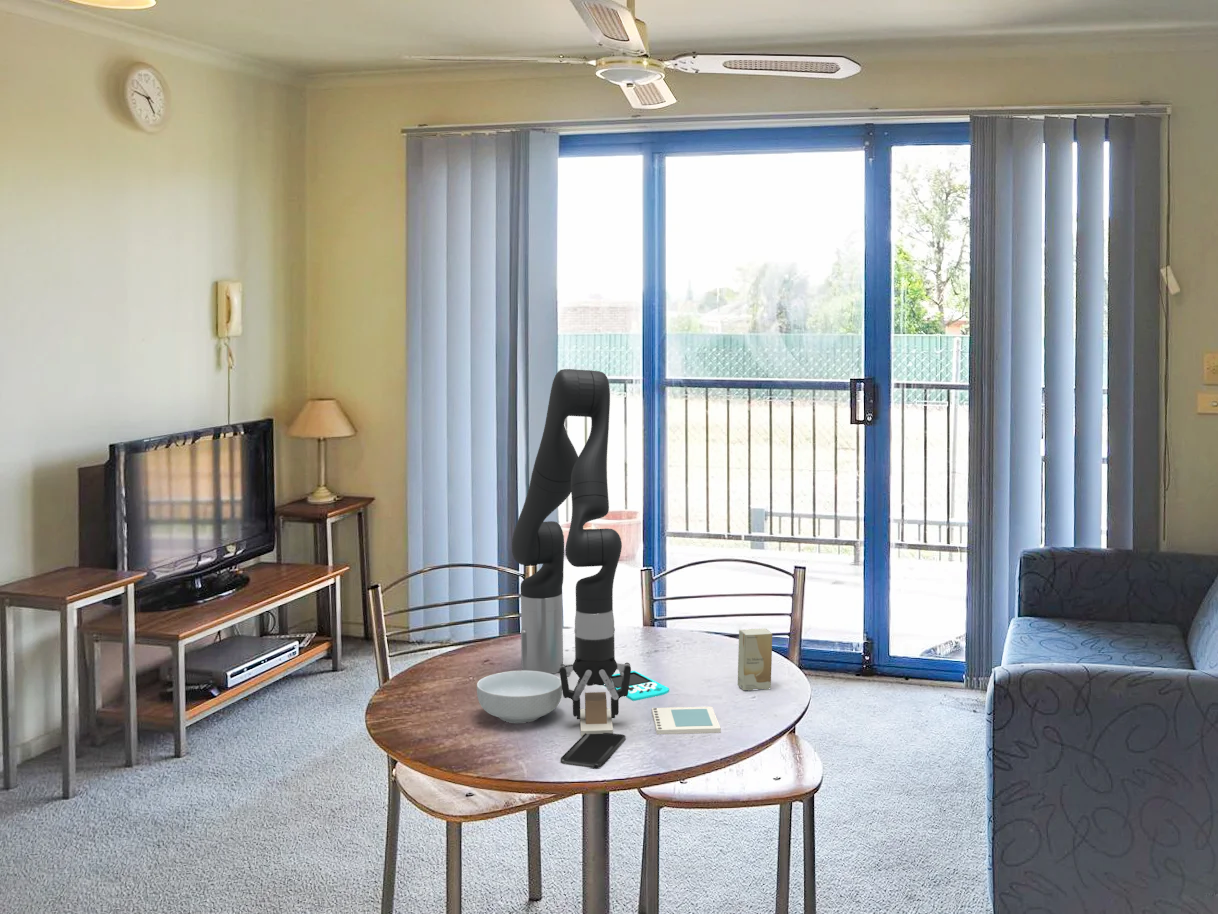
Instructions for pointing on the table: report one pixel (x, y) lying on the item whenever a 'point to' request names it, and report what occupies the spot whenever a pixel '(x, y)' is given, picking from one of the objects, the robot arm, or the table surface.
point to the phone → (593, 750)
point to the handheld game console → (640, 686)
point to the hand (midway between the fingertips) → (595, 717)
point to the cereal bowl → (519, 695)
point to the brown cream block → (595, 714)
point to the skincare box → (754, 659)
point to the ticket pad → (685, 720)
